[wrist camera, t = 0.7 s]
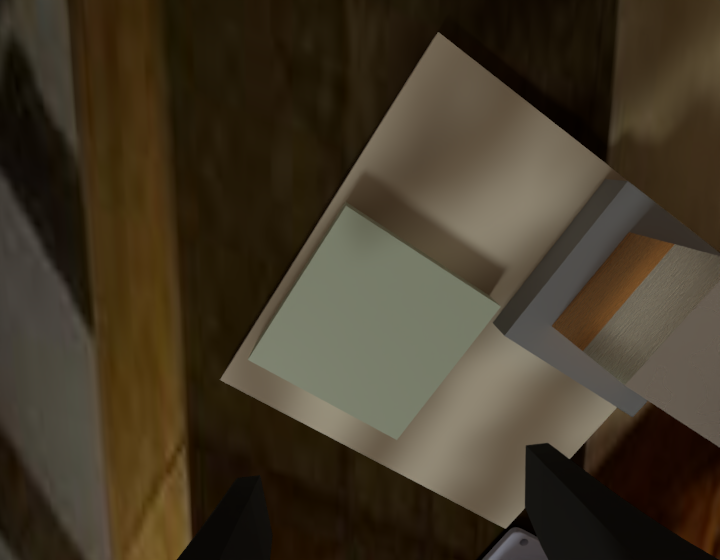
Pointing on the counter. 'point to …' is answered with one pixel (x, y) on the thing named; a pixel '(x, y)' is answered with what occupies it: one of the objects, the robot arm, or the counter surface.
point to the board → (471, 262)
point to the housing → (655, 327)
